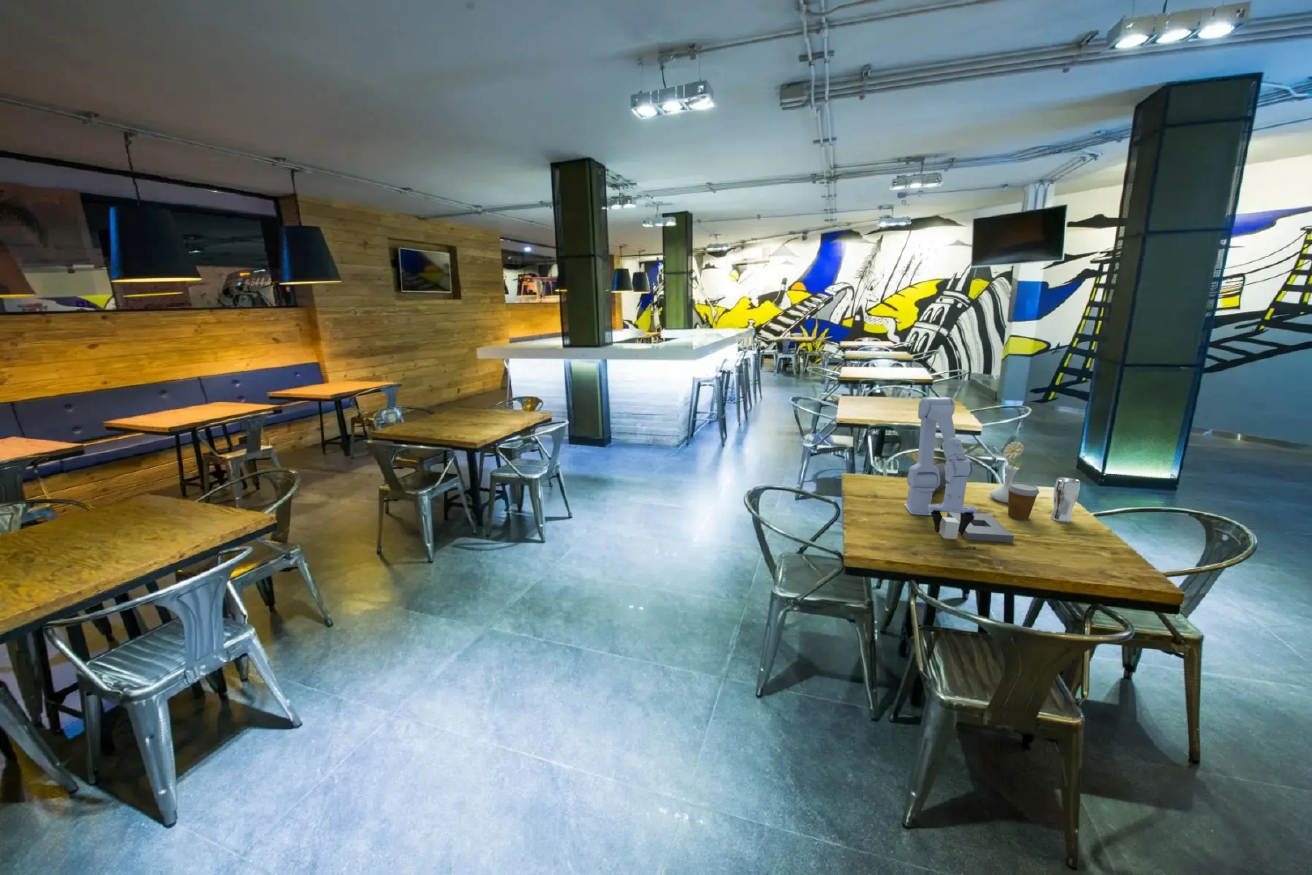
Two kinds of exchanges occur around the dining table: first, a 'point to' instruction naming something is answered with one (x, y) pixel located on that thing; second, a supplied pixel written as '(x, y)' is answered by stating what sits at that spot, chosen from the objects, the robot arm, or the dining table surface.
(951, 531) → the plug block
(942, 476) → the bluetooth speaker
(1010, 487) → the disposable coffee cup
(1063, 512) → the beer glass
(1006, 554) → the dining table surface
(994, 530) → the socket plate
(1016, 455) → the flower in vase
